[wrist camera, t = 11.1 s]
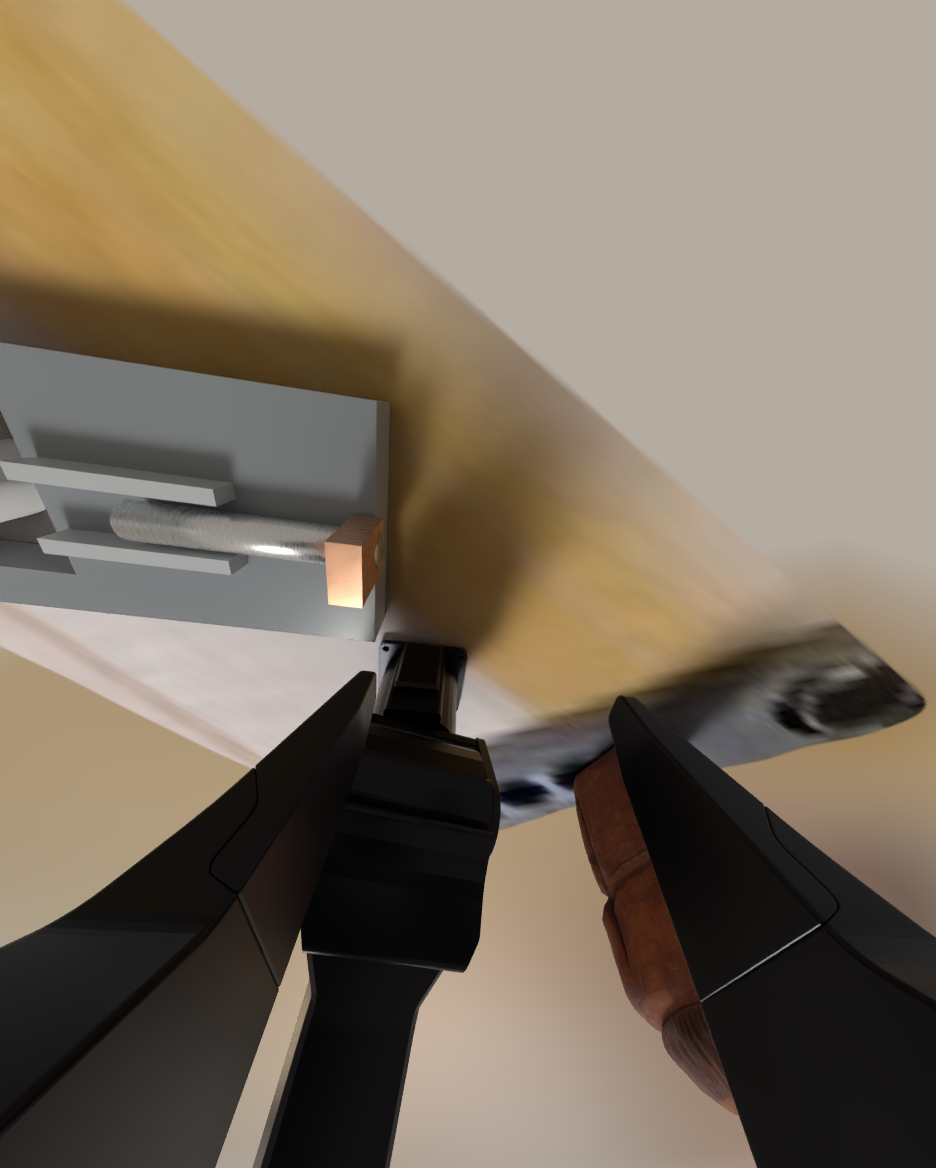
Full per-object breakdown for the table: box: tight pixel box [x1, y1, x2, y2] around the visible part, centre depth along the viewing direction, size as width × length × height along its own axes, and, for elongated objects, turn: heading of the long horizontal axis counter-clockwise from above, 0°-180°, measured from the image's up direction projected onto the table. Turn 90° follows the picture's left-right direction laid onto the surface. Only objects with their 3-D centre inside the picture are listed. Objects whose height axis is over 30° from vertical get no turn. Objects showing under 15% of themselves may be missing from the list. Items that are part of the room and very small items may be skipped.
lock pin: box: [110, 499, 384, 608], centre depth 16 cm, size 3×12×4 cm, turn 82°
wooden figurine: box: [574, 747, 739, 1116], centre depth 23 cm, size 12×6×18 cm, turn 145°
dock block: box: [0, 342, 390, 642], centre depth 18 cm, size 14×27×4 cm, turn 82°
